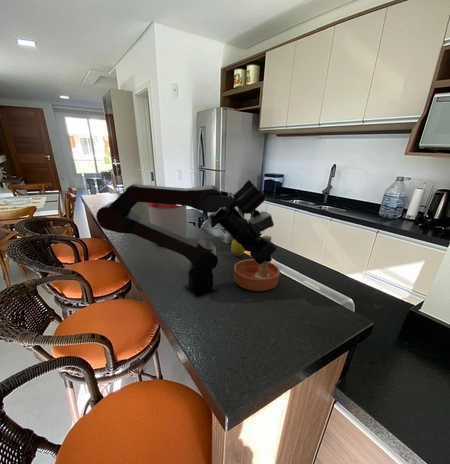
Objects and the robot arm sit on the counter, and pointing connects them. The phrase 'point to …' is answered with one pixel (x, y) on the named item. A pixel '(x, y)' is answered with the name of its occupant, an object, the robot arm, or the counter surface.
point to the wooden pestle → (263, 266)
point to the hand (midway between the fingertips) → (268, 258)
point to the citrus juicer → (169, 217)
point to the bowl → (246, 274)
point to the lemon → (237, 248)
